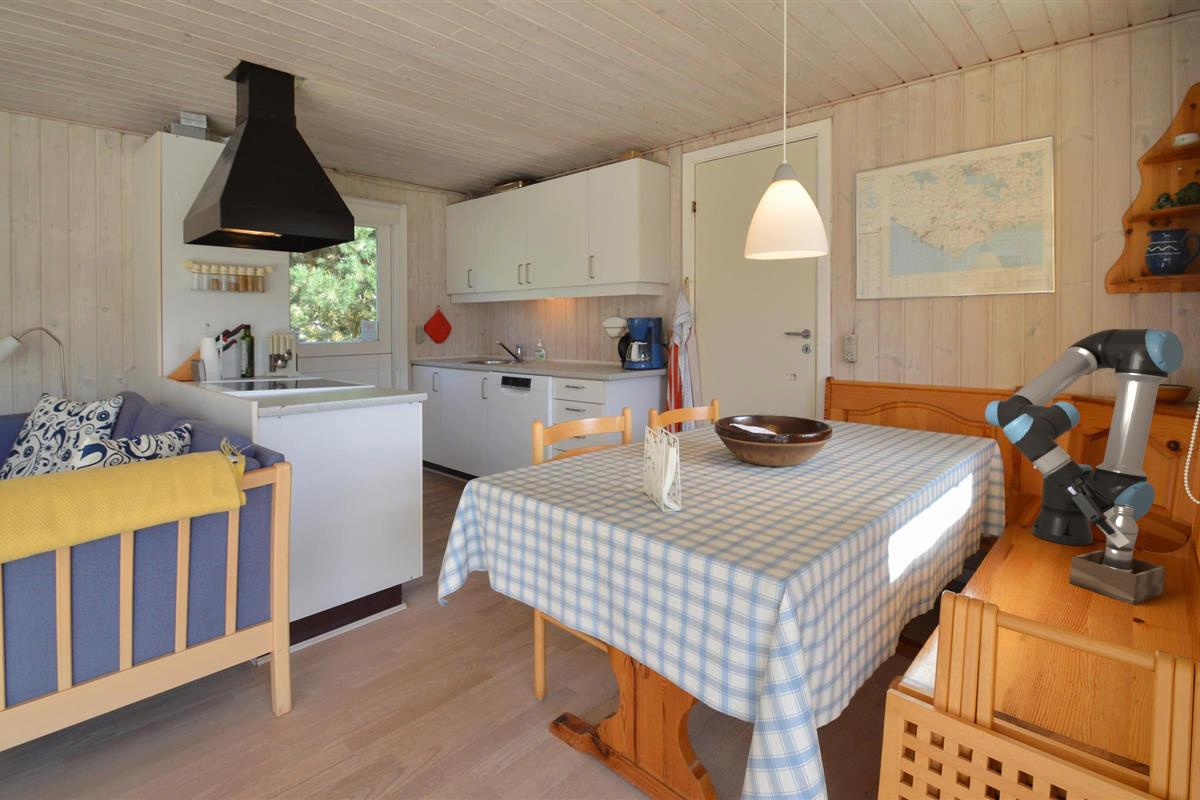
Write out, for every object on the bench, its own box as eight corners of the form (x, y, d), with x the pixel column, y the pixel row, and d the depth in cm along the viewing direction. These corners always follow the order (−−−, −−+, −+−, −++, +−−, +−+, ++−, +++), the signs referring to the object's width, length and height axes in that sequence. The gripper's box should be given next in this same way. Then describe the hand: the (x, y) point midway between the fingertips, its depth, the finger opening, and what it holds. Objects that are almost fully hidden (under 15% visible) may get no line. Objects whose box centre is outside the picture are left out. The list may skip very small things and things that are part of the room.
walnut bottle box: (1099, 575, 167) (1102, 549, 167) (1162, 595, 155) (1166, 567, 155) (1069, 583, 162) (1072, 557, 161) (1133, 605, 149) (1136, 576, 149)
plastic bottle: (1097, 584, 159) (1106, 506, 156) (1100, 577, 164) (1108, 500, 161) (1131, 592, 154) (1140, 511, 152) (1133, 584, 159) (1142, 505, 157)
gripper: (1053, 468, 176) (1117, 534, 167) (1035, 484, 158) (1106, 558, 149) (1079, 452, 171) (1146, 519, 163) (1063, 466, 153) (1138, 542, 145)
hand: (1127, 538), depth 156 cm, fingers open, 13 cm apart
